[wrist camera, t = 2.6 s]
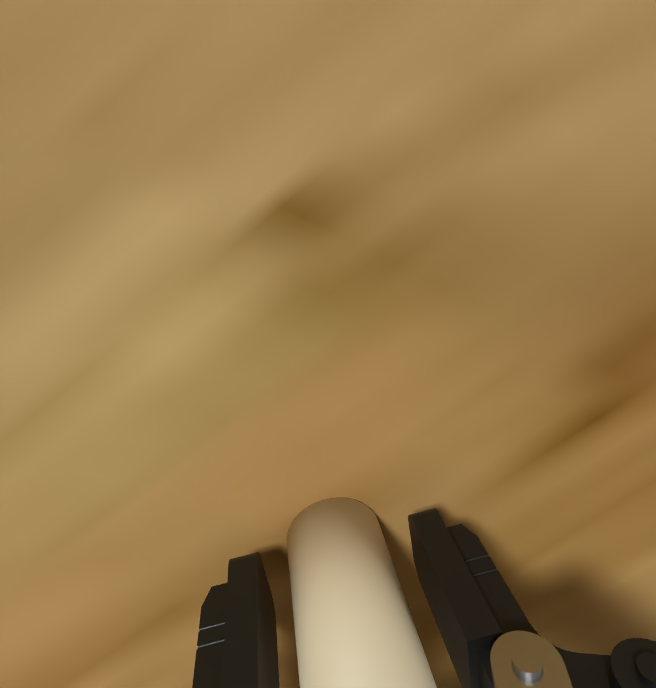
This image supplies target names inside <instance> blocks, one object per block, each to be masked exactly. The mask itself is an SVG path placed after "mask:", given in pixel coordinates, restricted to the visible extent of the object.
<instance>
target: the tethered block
mask: <svg viewBox="0 0 656 688" xmlns="http://www.w3.org/2000/svg"><path fill="white" fill-rule="evenodd" d="M287 551H288V562H289V573H290V584H291V595H292V606H293V616H294V627H295V638H296V649H297V660H298V671H299V681H300V688H437V686H436V684H435V681H434V678H433V675H432V672H431V669H430V667H429V664H428V661H427V658H426V655H425V652H424V649H423V647H422V644H421V641H420V638H419V635H418V632H417V630H416V627H415V624H414V621H413V618H412V615H411V613H410V610H409V607H408V604H407V601H406V598H405V596H404V593H403V590H402V587H401V584H400V581H399V579H398V576H397V573H396V570H395V567H394V564H393V561H392V559H391V556H390V553H389V550H388V547H387V544H386V542H385V539H384V536H383V533H382V530H381V527H380V525H379V522H378V519H377V517H376V515H375V514H374V512H373V511H372V510H371V509H370V508H369V507H368V506H366V505H365V504H363V503H361V502H359V501H357V500H353V499H349V498H330V499H325V500H322V501H319V502H316V503H314V504H312V505H310V506H308V507H307V508H305V509H304V510H303V511H302V512H300V513H299V514H298V515H297V517H296V518H295V519H294V520H293V522H292V523H291V525H290V527H289V530H288V533H287Z"/></svg>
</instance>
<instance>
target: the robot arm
mask: <svg viewBox="0 0 656 688" xmlns="http://www.w3.org/2000/svg"><path fill="white" fill-rule="evenodd" d="M408 521H409V529H410V536H411V543H412V550H413V557H414V562H415V567H416V570H417V574H418V577H419V580H420V583H421V585H422V588H423V590H424V593H425V595H426V598H427V600H428V603H429V605H430V608H431V610H432V613H433V615H434V618H435V620H436V623H437V625H438V628H439V630H440V633H441V635H442V638H443V640H444V643H445V645H446V648H447V650H448V653H449V655H450V658H451V660H452V663H453V665H454V668H455V670H456V673H457V675H458V678H459V680H460V683H461V685H462V688H656V642H655V641H651V640H648V639H642V638H632V639H626V640H624V641H621V642H620V643H618V644H617V645H616V646H615V647H614V649H613V651H612V654H611V655H597V654H583V653H574V652H570V651H566V650H563V649H560V648H558V647H556V646H554V645H552V644H551V643H550V642H548V641H547V640H546V639H544V638H543V637H541V636H540V635H539V634H538V633H537V632H536V631H535V630H534V629H533V627H532V626H531V625H530V623H529V621H528V620H527V618H526V616H525V615H524V613H523V611H522V610H521V608H520V606H519V605H518V603H517V602H516V600H515V598H514V597H513V595H512V593H511V592H510V590H509V588H508V587H507V585H506V583H505V582H504V580H503V578H502V577H501V575H500V573H499V572H498V571H497V569H496V567H495V565H494V563H493V562H492V560H491V558H490V557H489V556H488V553H487V552H486V550H485V548H484V547H483V545H482V543H481V542H480V540H479V538H478V537H477V536H476V535H475V534H473V533H472V532H471V531H469V530H468V529H467V528H466V527H464V526H463V525H462V524H459V525H455V526H451V527H447V528H446V526H445V524H444V522H443V520H442V518H441V516H440V515H439V513H438V511H437V510H436V509H431V510H427V511H423V512H419V513H415V514H411V515H408ZM199 630H200V632H199V633H198V642H197V647H198V650H197V651H196V660H195V669H194V678H193V687H192V688H279V671H278V652H277V633H276V617H275V609H274V603H273V598H272V594H271V590H270V587H269V584H268V581H267V577H266V574H265V571H264V567H263V564H262V561H261V557H260V555H259V553H258V552H257V553H253V554H249V555H245V556H241V557H237V558H233V559H230V560H229V566H228V583H225V584H221V585H217V586H213V587H211V589H210V591H209V593H208V595H207V597H206V599H205V601H204V603H203V605H202V607H201V616H200V625H199Z"/></svg>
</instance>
